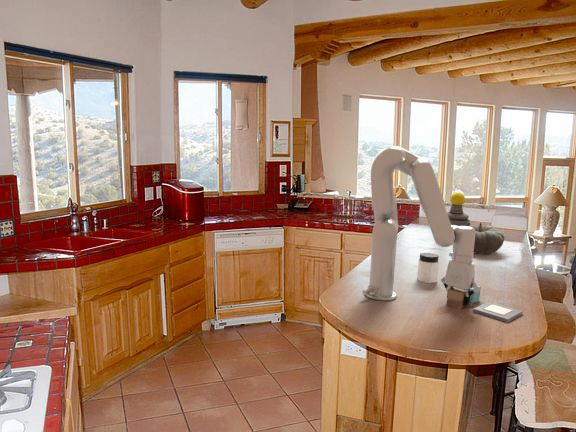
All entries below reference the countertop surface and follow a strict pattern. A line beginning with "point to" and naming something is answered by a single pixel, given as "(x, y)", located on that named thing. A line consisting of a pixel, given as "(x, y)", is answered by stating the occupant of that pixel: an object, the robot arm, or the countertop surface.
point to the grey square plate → (498, 311)
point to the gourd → (487, 239)
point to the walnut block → (456, 297)
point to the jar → (428, 268)
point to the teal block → (475, 296)
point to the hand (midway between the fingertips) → (457, 302)
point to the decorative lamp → (458, 211)
